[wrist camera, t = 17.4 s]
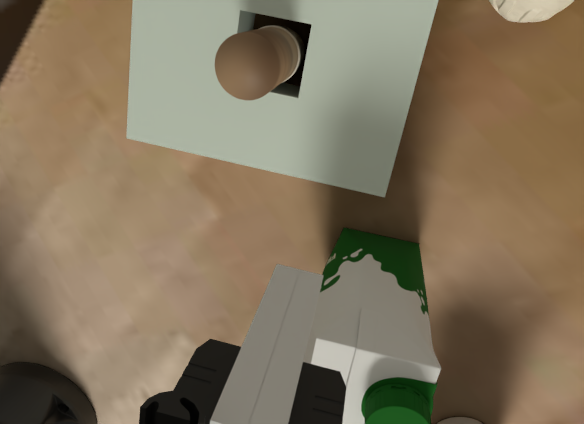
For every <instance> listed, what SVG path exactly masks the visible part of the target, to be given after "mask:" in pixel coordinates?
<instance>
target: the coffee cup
mask: <svg viewBox="0 0 584 424" xmlns="http://www.w3.org/2000/svg"><path fill="white" fill-rule="evenodd" d="M437 424H483V423H481V422H480V421H477V420H475V419H472V418H467V417H452V418H447V419H444V420H442V421H440V422H438V423H437Z"/></svg>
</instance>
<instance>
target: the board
mask: <svg viewBox="0 0 584 424" xmlns="http://www.w3.org/2000/svg"><path fill="white" fill-rule="evenodd" d="M437 4H438V0H133V7H132V29H131V51H130V73H129V95H128V117H127V138H128V139H132V140H136V141H141V142H145V143H150V144H154V145H158V146H163V147H167V148H171V149H176V150H180V151H184V152H189V153H193V154H198V155H202V156H206V157H211V158H215V159H219V160H224V161H228V162H232V163H237V164H241V165H246V166H250V167H254V168H259V169H263V170H267V171H272V172H276V173H280V174H285V175H289V176H294V177H298V178H302V179H307V180H311V181H315V182H320V183H324V184H328V185H333V186H337V187H342V188H346V189H350V190H355V191H359V192H363V193H368V194H372V195H376V196H381V197H385V195H386V191H387V188H388V184H389V180H390V177H391V173H392V169H393V166H394V162H395V158H396V154H397V151H398V147H399V143H400V140H401V136H402V132H403V129H404V125H405V121H406V118H407V114H408V110H409V107H410V103H411V99H412V96H413V92H414V88H415V85H416V81H417V77H418V73H419V70H420V66H421V62H422V59H423V55H424V51H425V48H426V44H427V40H428V37H429V33H430V29H431V26H432V22H433V18H434V15H435V11H436V7H437ZM256 13H257V14H262V15H267V16H272V17H277V18H282V19H287V20H292V21H297V22H302V23H307V24H312V25H311V31H310V36H309V42H308V47H307V53H306V59H305V64H304V70H303V75H302V81H301V86H297V85H292V84H287V83H281V84H279V85H278V86H277V87H275V88H274V89H273V90H271V91H270V92H269V93H267V94H266V95H265V96H263V97H261V98H259V99H256V100H241V99H238V98H235V97H233V96H232V95H230V94H229V93H227V92H226V91H225V90H224V89H223V87H222V86H221V85H220V83H219V81H218V79H217V76H216V72H215V57H216V53H217V51H218V49H219V47H220V45H221V44H222V43H223V42H224V41H225V40H226V39H227V38H228V37H230V36H232V35H234V34H237V33H241V32H246V31H251V30H253V28H254V21H255V14H256Z"/></svg>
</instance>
